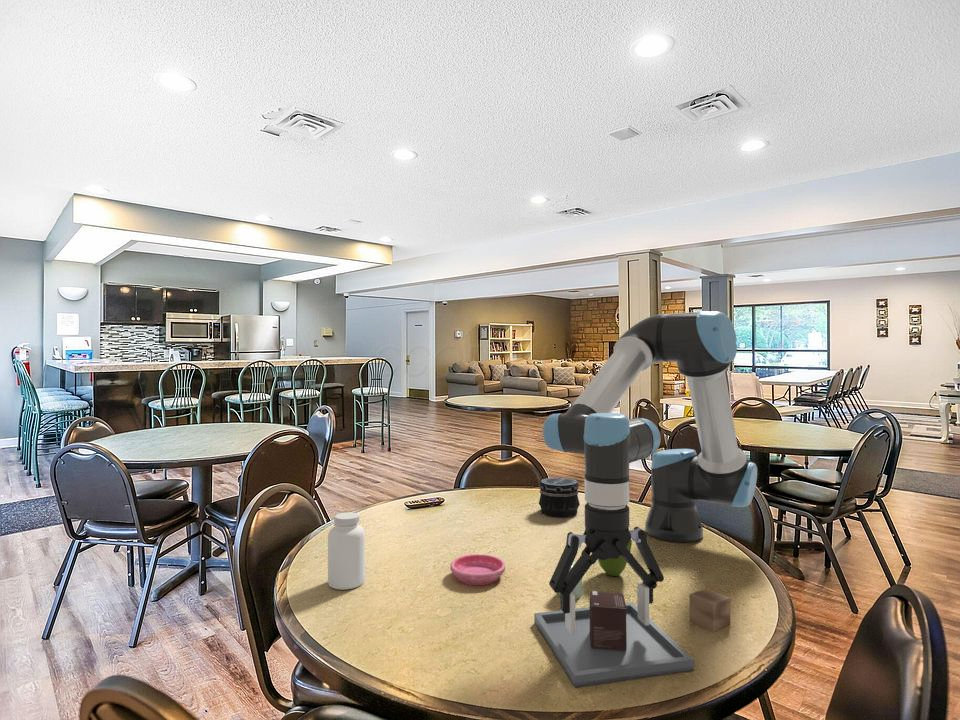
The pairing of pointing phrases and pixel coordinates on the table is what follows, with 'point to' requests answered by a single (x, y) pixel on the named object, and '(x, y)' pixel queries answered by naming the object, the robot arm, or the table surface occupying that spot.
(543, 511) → the container
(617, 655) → the tray
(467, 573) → the pink shallow round dish
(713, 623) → the walnut block
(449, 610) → the table surface
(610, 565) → the apple
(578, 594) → the sage canister
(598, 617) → the box
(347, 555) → the pill bottle
